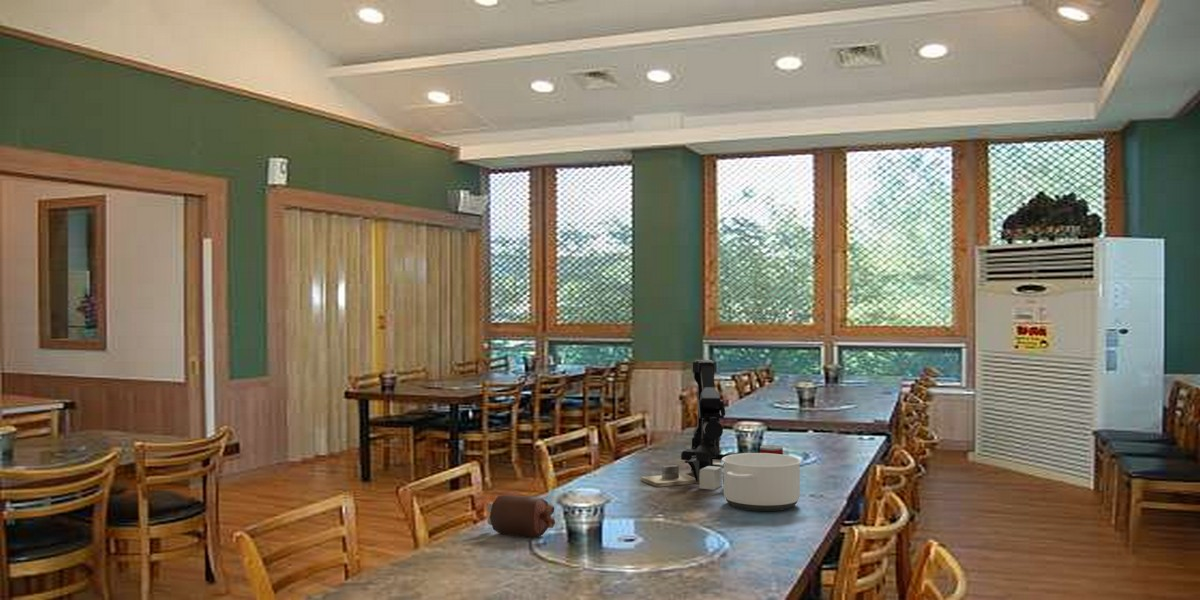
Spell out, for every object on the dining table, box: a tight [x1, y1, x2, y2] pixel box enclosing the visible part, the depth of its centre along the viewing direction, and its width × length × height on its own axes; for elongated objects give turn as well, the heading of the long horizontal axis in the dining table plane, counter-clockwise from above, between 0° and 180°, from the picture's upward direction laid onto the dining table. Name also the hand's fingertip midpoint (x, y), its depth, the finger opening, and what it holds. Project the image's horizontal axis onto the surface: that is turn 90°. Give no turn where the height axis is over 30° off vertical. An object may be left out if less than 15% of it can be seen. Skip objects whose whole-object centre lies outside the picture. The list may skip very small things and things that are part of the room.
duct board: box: [640, 464, 700, 488], centre depth 314 cm, size 16×12×5 cm
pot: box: [720, 452, 802, 512], centre depth 277 cm, size 33×23×14 cm
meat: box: [486, 494, 556, 539], centre depth 243 cm, size 20×12×10 cm, turn 63°
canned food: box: [759, 444, 784, 455], centre depth 318 cm, size 8×8×11 cm
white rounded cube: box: [699, 465, 723, 491], centre depth 305 cm, size 8×5×6 cm, turn 153°
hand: (710, 483), depth 305 cm, fingers open, 9 cm apart
